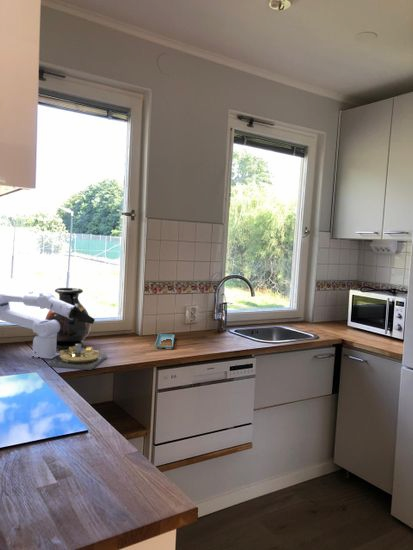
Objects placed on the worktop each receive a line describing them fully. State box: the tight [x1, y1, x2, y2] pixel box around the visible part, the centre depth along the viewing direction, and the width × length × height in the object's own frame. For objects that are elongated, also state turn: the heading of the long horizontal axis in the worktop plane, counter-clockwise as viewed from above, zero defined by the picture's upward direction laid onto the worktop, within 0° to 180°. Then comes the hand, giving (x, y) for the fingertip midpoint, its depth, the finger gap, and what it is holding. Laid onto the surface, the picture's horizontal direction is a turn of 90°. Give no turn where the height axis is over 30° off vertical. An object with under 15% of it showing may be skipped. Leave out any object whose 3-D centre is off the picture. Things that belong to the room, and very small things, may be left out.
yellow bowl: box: [59, 343, 100, 363], centre depth 192 cm, size 16×16×7 cm
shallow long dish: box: [154, 333, 176, 350], centre depth 235 cm, size 26×9×2 cm, turn 2°
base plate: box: [48, 353, 108, 371], centre depth 192 cm, size 18×20×2 cm
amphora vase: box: [44, 287, 92, 351], centre depth 215 cm, size 22×22×28 cm
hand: (90, 320), depth 192 cm, fingers open, 7 cm apart
